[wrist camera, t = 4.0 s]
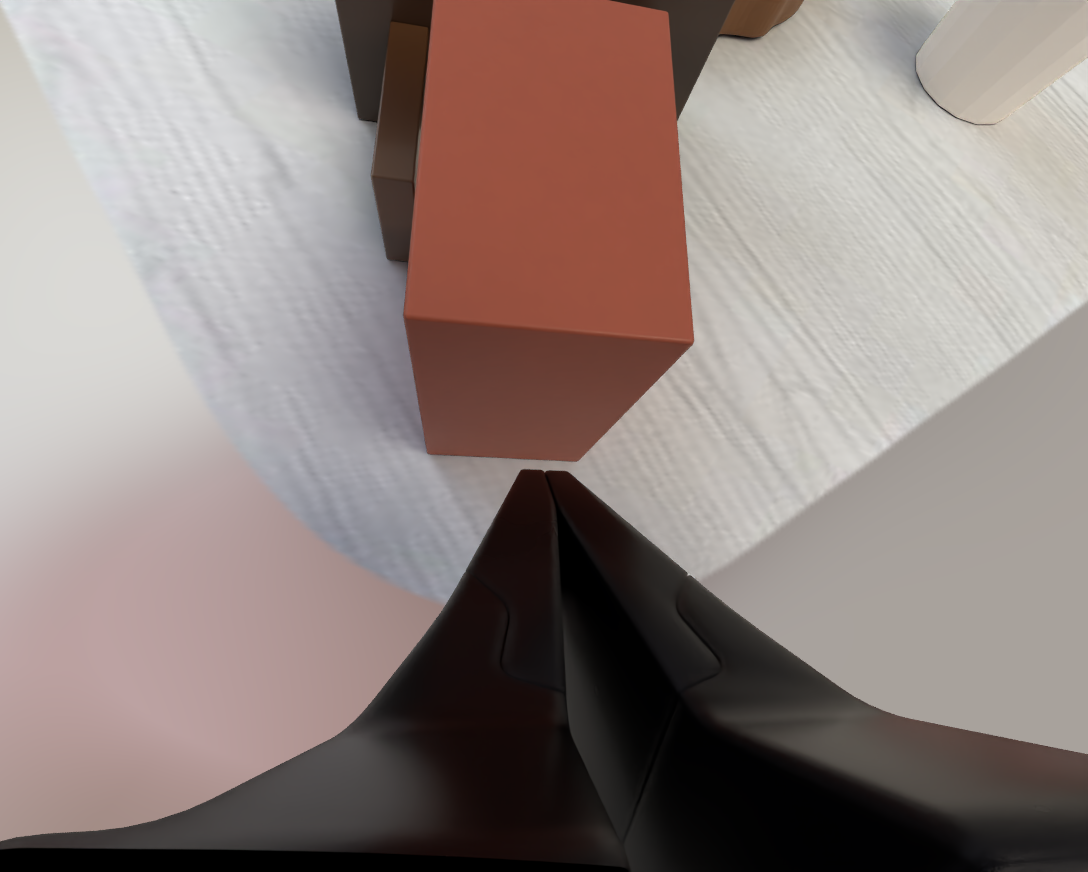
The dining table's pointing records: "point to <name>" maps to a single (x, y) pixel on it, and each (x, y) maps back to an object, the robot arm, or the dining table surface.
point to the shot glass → (1001, 54)
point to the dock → (400, 75)
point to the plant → (758, 16)
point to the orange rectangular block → (544, 225)
